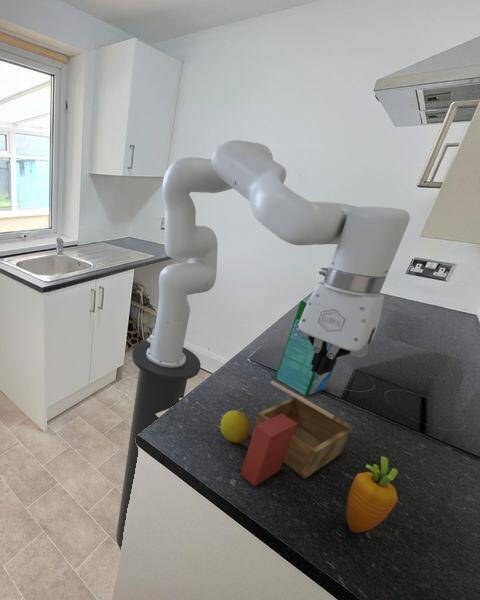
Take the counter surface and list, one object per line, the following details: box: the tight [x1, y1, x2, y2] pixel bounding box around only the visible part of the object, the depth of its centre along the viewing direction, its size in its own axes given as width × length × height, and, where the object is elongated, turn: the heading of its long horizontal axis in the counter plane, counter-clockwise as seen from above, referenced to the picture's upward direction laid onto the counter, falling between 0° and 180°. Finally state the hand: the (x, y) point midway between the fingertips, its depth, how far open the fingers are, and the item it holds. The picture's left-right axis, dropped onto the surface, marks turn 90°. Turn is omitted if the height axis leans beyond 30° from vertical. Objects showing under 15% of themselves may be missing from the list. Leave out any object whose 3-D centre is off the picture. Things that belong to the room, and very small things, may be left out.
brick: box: [239, 413, 297, 487], centre depth 59 cm, size 3×8×12 cm, turn 117°
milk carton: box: [275, 298, 339, 397], centre depth 86 cm, size 9×9×25 cm
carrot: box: [345, 456, 399, 534], centre depth 49 cm, size 5×5×15 cm
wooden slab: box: [270, 379, 354, 430], centre depth 65 cm, size 14×12×1 cm
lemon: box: [219, 410, 250, 444], centre depth 67 cm, size 6×6×8 cm
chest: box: [250, 396, 352, 479], centre depth 67 cm, size 14×12×7 cm
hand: (319, 371), depth 60 cm, fingers closed
